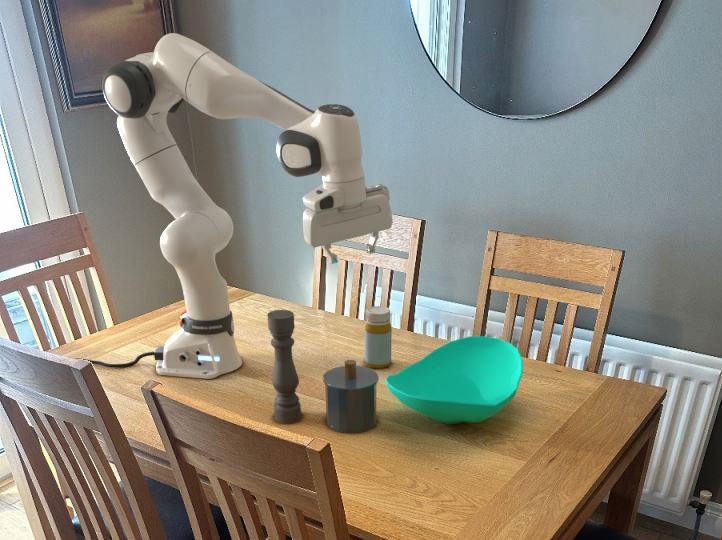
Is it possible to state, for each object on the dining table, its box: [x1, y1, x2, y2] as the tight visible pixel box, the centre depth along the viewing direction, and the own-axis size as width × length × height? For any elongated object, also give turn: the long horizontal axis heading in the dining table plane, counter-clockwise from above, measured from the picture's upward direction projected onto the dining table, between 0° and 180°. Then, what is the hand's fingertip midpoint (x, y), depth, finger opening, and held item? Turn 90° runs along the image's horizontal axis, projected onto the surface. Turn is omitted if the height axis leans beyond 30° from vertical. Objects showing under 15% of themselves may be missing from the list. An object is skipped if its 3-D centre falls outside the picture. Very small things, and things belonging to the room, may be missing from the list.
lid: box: [322, 359, 380, 391], centre depth 164 cm, size 13×13×5 cm
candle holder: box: [266, 309, 302, 425], centre depth 165 cm, size 6×6×25 cm
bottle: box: [364, 305, 393, 369], centre depth 194 cm, size 7×7×15 cm
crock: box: [324, 384, 377, 434], centre depth 168 cm, size 12×12×11 cm
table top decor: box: [384, 335, 524, 425], centre depth 170 cm, size 40×28×13 cm
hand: (352, 257), depth 162 cm, fingers open, 8 cm apart
